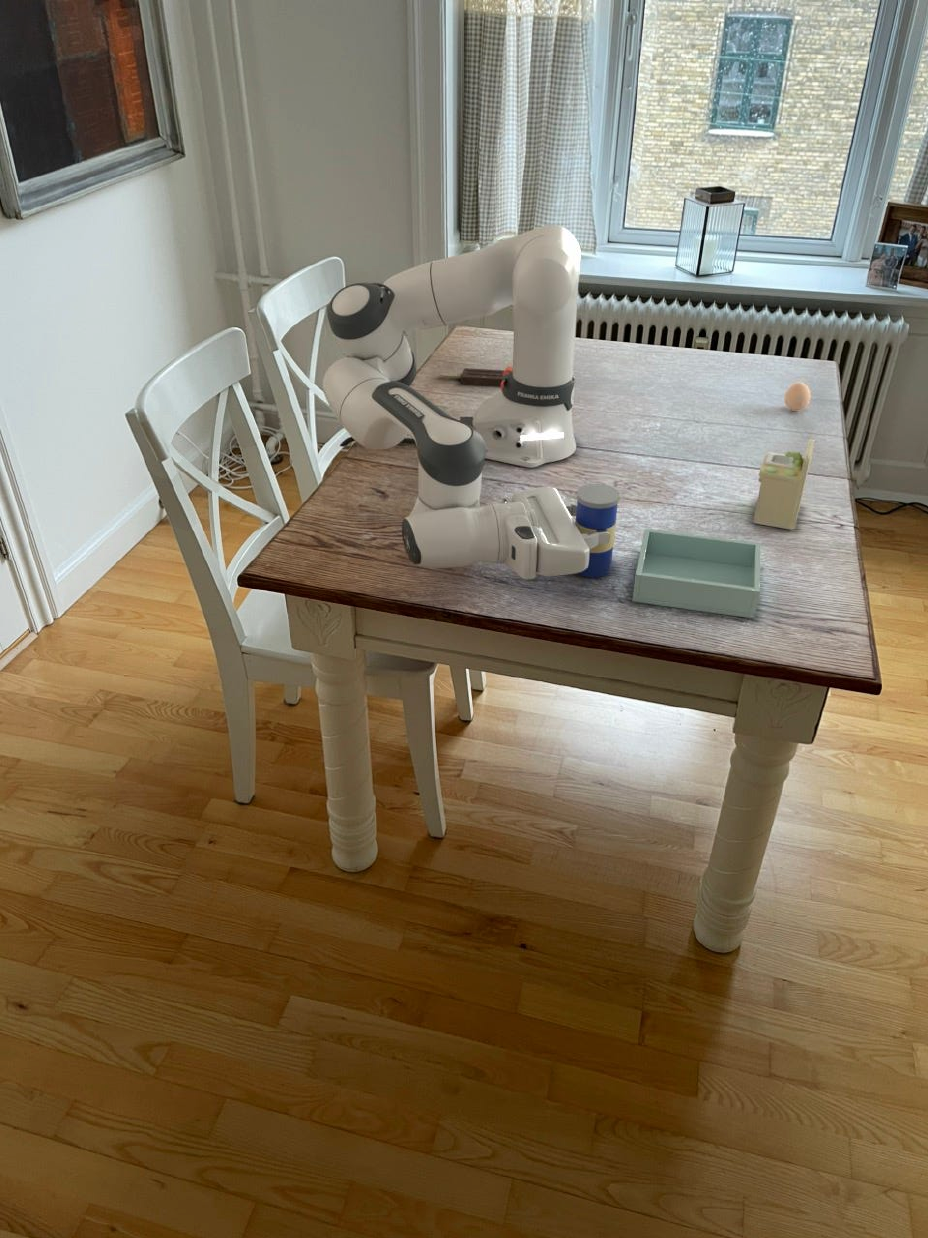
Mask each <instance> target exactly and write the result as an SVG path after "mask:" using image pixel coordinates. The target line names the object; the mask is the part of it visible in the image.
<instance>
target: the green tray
mask: <svg viewBox="0 0 928 1238" xmlns="http://www.w3.org/2000/svg"><path fill="white" fill-rule="evenodd" d="M761 545H762V544H761V542H754V541H746V540H740V539H739V540H738V539H731V538H724V537H723V538H722V537H715V536H707V535H700V534H699V535H698V534H692V533H683V532H676V531H675V532H674V531H669V530H662V529H661V530H660V529H652V528H644V531H643V537H642V541H641V546H640V551H639V555H638V560H637V565H636V571H635V575H634V583H633V591H632V602H635V603H641V604H648V605H656V606H662V607H669V608H675V609H683V610H689V611H690V610H691V611H697V612H705V613H712V614H719V615H725V616H731V617H732V616H733V617H739V618H745V619H755V615H756V611H757V607H758V603H759V599H760V593H761V553H762V552H761V548H762V546H761Z"/></svg>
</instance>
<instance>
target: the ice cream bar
mask: <svg viewBox="0 0 928 1238" xmlns="http://www.w3.org/2000/svg"><path fill="white" fill-rule="evenodd" d="M504 371H505V369H504V370H503V369H489V368H488V369H487V368H485V369H484V368H471V367H470V368H467V367H465V368H464V369H463V370H462V373H460V372H459V373H457V372H440V378H446V379H447V378H448V379H460V384H461V385H474V386H491V387H501V383H502V377H503V372H504Z"/></svg>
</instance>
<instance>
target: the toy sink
mask: <svg viewBox="0 0 928 1238" xmlns="http://www.w3.org/2000/svg"><path fill="white" fill-rule="evenodd" d="M815 441H816V440H815V439H809V440H808V444H807V448H806V451H805V455H804V456H803V455H802V454H801V453H800V452H798V451H792V450H787V451H786V452H785V454H784V453H779V452H778V453H777V452H772V451H767V452H766V453H765V455H764V458H763V461H762V463H761V466H760V468H759V472H758V476H759V478H758V483H760V485H759V490H758V496H757V501H756V505H755V510H754V516H753V524H757V525H763V526H767V527H773V528H774V527H775V528H778V529H779V528H780V529H785V530H789V531H793V530H795V528H796V524H797V519H798V516H799V512H800V508H801V503H802V500H803V496H804V491H805V486H806V482H807V477H808V473H809V469H810V464H811V460H812V455H813V452H814V448H815Z"/></svg>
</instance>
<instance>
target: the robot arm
mask: <svg viewBox="0 0 928 1238" xmlns="http://www.w3.org/2000/svg"><path fill="white" fill-rule="evenodd" d="M581 262H582V252H581V248H580V245H579V243H578V241H577V239H576V237H575V236H574V234H572V233H571V232H570V231H569V230H568V229H567V228H565V227H564V226H562V225H560V224H559V225H558V224H554V223H553V224H544V225H542V226H539V227H538V228H535V229H531V230H529V231H526V232H523V233H520V234H517V235H514V236H511V237H508V238H506V239H503V240H501V241H498V242H495V243H493V244H489V245H488V246H484V247H482V248H479V249H476V250H473V251H468V252H465V253H461V254H456V255H453V256H449V257H444V258H441V259H437V260H433V261H429V262H425V263H422V264H419V265H415V266H413V267H409V268H407V269H406V270H402V271H400V272H398V273H396V274H394V275H392V276H390V277H388V278H387V279H386V280H385V281H384V282H383V283H379V282H357V283H352V284H349V285H346V286H344V287H343V288H341V289H340V290H338V291H337V292H336V293H335V294H334V295H333V297H332V298H331V300H330V302H329V303H328V304H327V308H326V315H327V320H328V325H329V327H330V330H331V332H332V334H333V335H334V336H335V338H336V340H337V343H338V345H339V348H340V349H341V351H342V353H343V355H344V357H343V358H340V359H337V360H336V361H334V362H333V363H332V364H330V366H329V367H328V368H327V369H326V371H325V374H324V376H323V380H322V391H323V394H324V397H325V400H326V401H327V403H328V406H329V407H330V409H331V411H332V413H333V414H334V416H335V418H336V419H337V420H338V422H339V423H340V424H341V426H342V427H343V428H344V429H345V431H346V432H347V433H348V435H350V436H349V437H347V438H345V439H344V440H343V441H342V442H341V443H340V444H339V447H341V448H343V447H346V446H348V445H349V444H351V443H353V442H356V443H358V444H359V445H360V446H362V448H365V449H367V450H370V451H382V450H383V451H384V450H388V449H390V448H393V447H395V446H397V445H398V444H412V445H416V451H417V462H418V467H417V469H418V470H417V472H418V474H417V497H416V499H415V503H414V505H413V508H412V510H411V511H410V513H409V515H407V516H405V517H404V518H403V520H402V521H401V536H402V542H403V546H404V550H405V553H406V555H407V557H408V559H409V560H410V562H411V563H412V564H413V565H415V566H417V567H421V568H426V569H452V568H453V569H454V568H462V567H469V566H472V565H474V564H477V563H488V564H504V566H506V567H508V568H509V569H511V570H512V571H513V572H515V573H516V574H517V576H518V577H520V578H521V579H522V580H533V579H536V576H537V574H538V575H540V576H543V577H544V576H545V577H554V576H555V577H556V576H564V575H565V576H566V575H574V574H577V573H579V572H582V571H584V570H585V569H586V568H587V567H588V564H589V553H590V551H589V550H590V549H592V548H593V547H595V546H597V545H598V544H606V543H608V542H609V541H610V534H609V532H608V531H607V529H605V528H604V529H596V533H593V534H591V535H588V534H587V533H586V534H581V533H580V531H579V530H578V528H577V526H576V524H575V520H574V518H573V517H575V518H576V511H577V502H572V501H563V499H562V497H561V495H560V493H559V491H558V489H557V488H556V487H552V486H540V487H533V488H528V489H522V490H519V491H516V492H515V493H514V494H512V495H507V496H505V497H504V499H503V500H501V501H500V503H491V504H485V505H483V506H481V505H480V502H481V493H482V484H483V483H482V482H483V469H484V465H485V460H486V459H487V460H492V461H497V462H501V463H506V464H511V465H515V466H520V467H524V468H528V469H529V468H531V469H533V468H537V467H539V466H542V465H543V464H549V463H553V462H557V461H561V460H565V459H566V458H569V457H571V456H573V454H574V453H575V452H576V450H577V442H576V439H575V434H574V427H573V413H572V411H573V410H572V408H573V405H574V403H575V395H576V394H575V393H576V392H575V391H576V384H575V382H576V379H575V375H574V364H575V363H574V361H575V349H576V333H577V332H576V330H577V313H578V312H577V310H578V294H579V284H580V283H579V281H580V273H581ZM510 306H512V323H513V346H512V347H513V348H512V350H513V351H512V366H507V367H506V368H505V369H504V370H505V371H504V372H503V377H502V383H501V386H500V392H498V393H496V394H494V395H493V396H491V397H490V398H488V399H487V400H485V401H484V402H482V403H480V405H479V406H478V408H477V409H476V410H475V412H474V413H473V416H459V419H458V418H454V417H452V416H451V415H450V414H448V413H447V412H445V411H444V410H443V409H442V408H440V407H438V405H436V404H435V403H433V402H432V401H431V400H429V399H428V398H426V397H425V396H424V395H422V394H421V393H420V392H419V391H417V390H415V389H414V388H413V387H411V385H412V384H413V383H414V381H415V379H416V377H417V372H418V371H417V370H418V369H417V363H416V358H415V355H414V353H413V351H412V349H411V347H410V344H409V342H408V339H407V337H408V336H409V335H410V334H412V333H414V332H415V331H417V330H427V329H428V330H429V329H434V328H439V327H440V328H441V327H445V326H449V325H454V324H459V323H464V322H467V321H473V320H477V319H481V318H486V317H489V316H492V315H494V314H495V313H497V312H500V311H501V310H504V309H505V308H507V307H510ZM408 435H409V436H410V437H408Z"/></svg>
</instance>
